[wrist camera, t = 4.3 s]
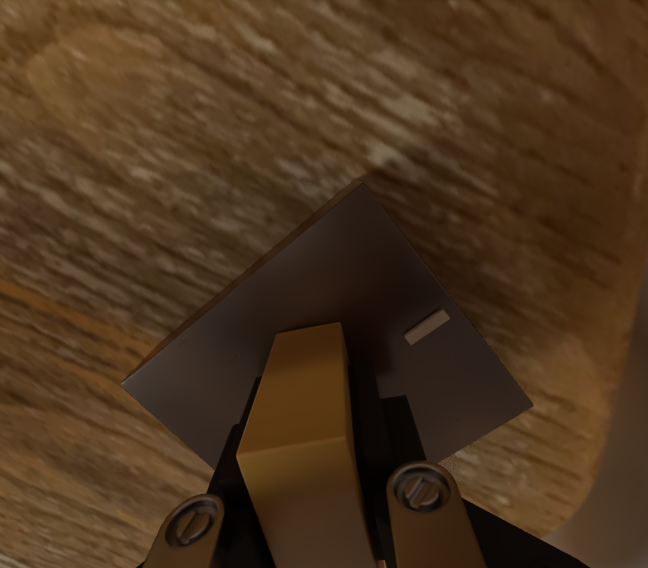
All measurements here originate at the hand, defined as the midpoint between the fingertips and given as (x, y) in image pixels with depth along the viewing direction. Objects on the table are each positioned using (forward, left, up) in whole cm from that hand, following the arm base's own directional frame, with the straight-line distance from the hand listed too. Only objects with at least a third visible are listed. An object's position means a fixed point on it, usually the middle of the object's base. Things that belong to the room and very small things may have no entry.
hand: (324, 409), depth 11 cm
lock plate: (0, 0, -4) cm, 4 cm away
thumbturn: (0, 0, -1) cm, 1 cm away
